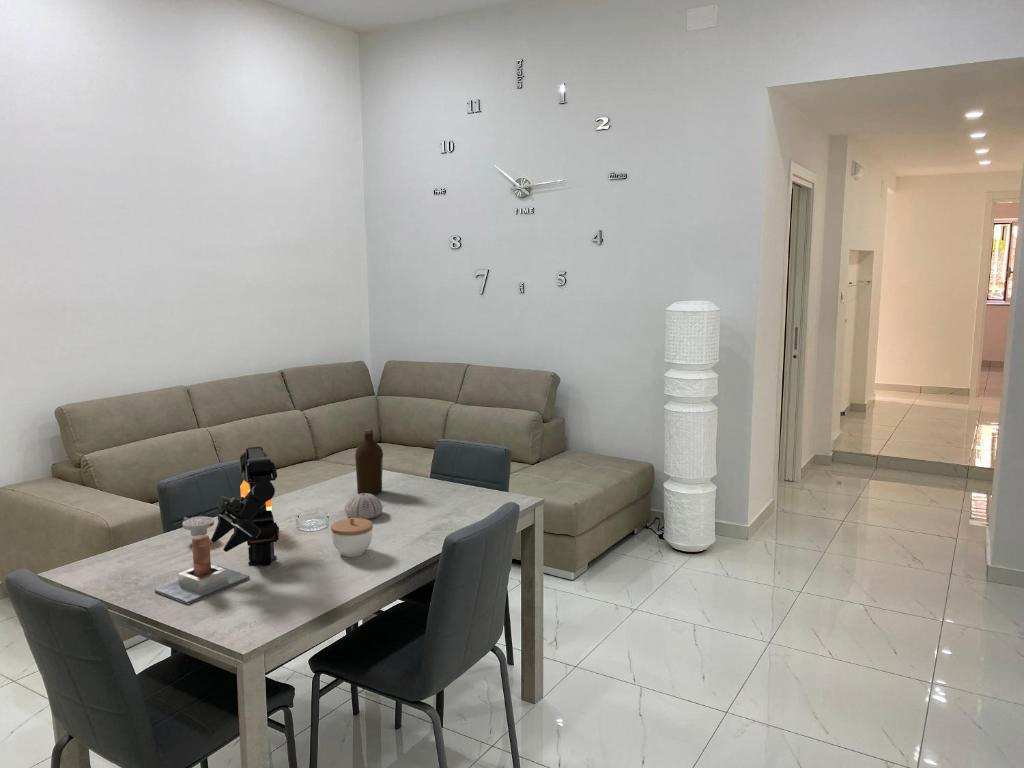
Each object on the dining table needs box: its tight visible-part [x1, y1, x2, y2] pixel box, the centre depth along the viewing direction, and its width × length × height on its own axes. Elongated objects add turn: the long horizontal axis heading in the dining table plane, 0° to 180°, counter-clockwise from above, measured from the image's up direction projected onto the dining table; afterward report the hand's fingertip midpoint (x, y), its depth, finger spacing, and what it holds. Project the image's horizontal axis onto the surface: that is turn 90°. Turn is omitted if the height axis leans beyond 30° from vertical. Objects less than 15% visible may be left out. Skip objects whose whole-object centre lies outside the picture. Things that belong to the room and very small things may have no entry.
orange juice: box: [240, 480, 273, 512], centre depth 256 cm, size 8×9×20 cm
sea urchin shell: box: [344, 493, 383, 520], centre depth 272 cm, size 13×14×8 cm
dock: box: [154, 564, 251, 605], centre depth 212 cm, size 20×14×4 cm
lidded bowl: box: [330, 517, 374, 558], centre depth 237 cm, size 13×13×11 cm
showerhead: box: [182, 515, 215, 537], centre depth 246 cm, size 9×7×10 cm
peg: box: [191, 534, 212, 578], centre depth 212 cm, size 4×4×13 cm
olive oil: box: [354, 428, 384, 496], centre depth 297 cm, size 11×11×25 cm
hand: (218, 546), depth 214 cm, fingers open, 9 cm apart
